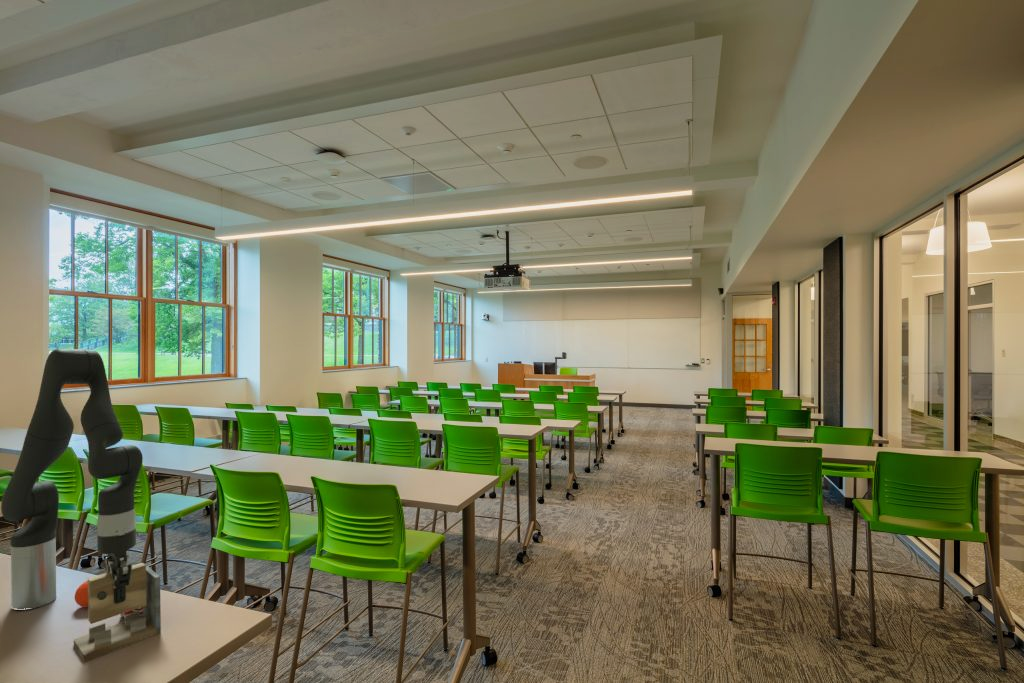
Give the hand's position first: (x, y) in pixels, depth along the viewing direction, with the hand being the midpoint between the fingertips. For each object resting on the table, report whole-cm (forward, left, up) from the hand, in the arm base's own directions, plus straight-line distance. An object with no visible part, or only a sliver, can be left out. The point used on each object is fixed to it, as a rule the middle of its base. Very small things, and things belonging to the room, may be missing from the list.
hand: (117, 599), depth 127 cm
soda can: (-11, +6, -10) cm, 16 cm away
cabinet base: (0, 0, -10) cm, 10 cm away
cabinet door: (0, 0, -3) cm, 3 cm away
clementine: (-26, 0, -10) cm, 28 cm away
